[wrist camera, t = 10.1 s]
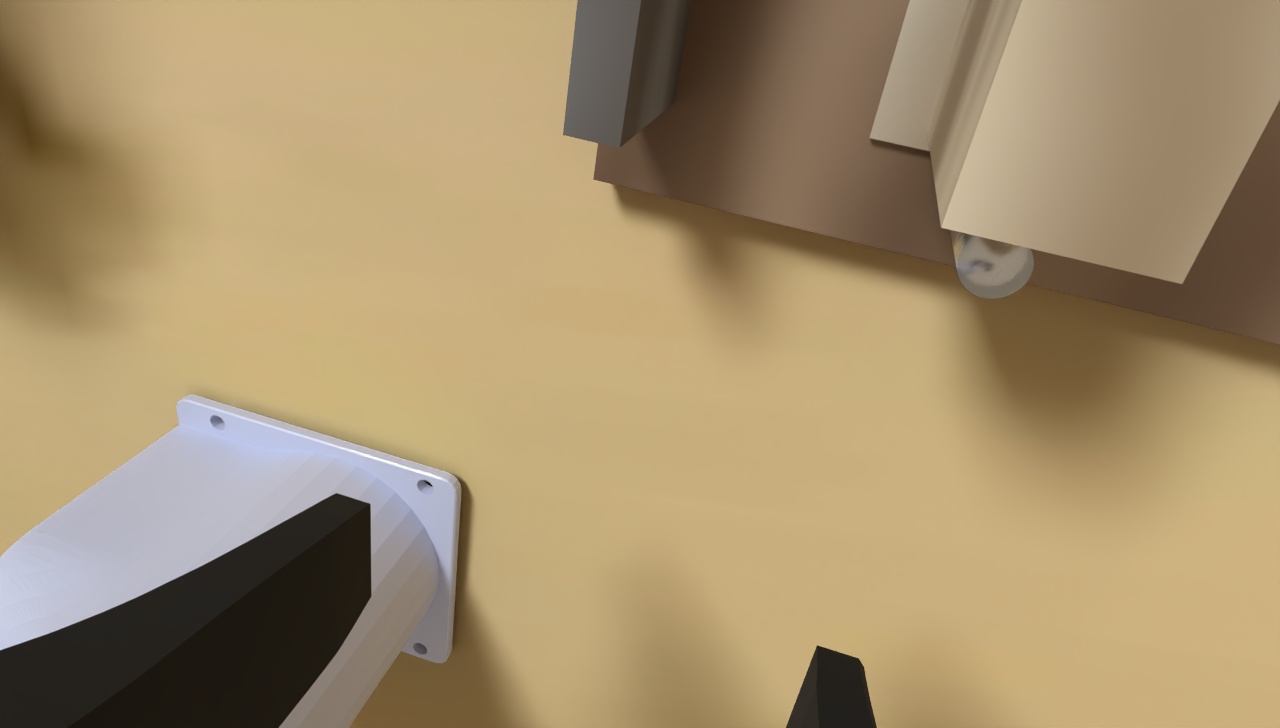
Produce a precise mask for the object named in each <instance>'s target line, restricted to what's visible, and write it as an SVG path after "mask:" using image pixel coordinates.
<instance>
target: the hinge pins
mask: <svg viewBox="0 0 1280 728" xmlns="http://www.w3.org/2000/svg"><path fill="white" fill-rule="evenodd" d="M950 233H951V238H952V244H953V250H954V256H955V262H956V267H957V273H958V277H959V280H960V282H961V283H962V285H963V286H964V287H965V288H966V289H967V290H968V291H969V292H971V293H972V294H974V295H976V296H979V297H982V298H987V299H997V298H1003V297H1006V296H1009V295H1011V294H1013V293H1015V292H1017V291H1018V290H1020V289H1021V288H1022V287H1023V286H1024V285H1025V284H1026V283H1027V281H1028V280H1029V278H1030V276H1031V274H1032V271H1033V266H1034V259H1033V254H1032V251H1031V249H1030V248H1026V247H1022V246H1017V245H1013V244H1009V243H1005V242H1000V241H996V240H992V239H987V238H983V237H979V236H975V235H970V234H966V233H962V232H958V231H953V230H950Z"/></svg>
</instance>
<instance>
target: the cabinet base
mask: <svg viewBox="0 0 1280 728" xmlns="http://www.w3.org/2000/svg"><path fill="white" fill-rule="evenodd" d="M968 2H969V0H578V3H577V12H576V21H575V31H574V40H573V49H572V58H571V67H570V77H569V86H568V95H567V104H566V113H565V123H564V132H563V135H566V136H570V137H575V138H579V139H583V140H588V141H592V142H596V143H598V149H597V157H596V164H595V172H594V180H598V181H602V182H606V183H610V184H615V185H619V186H623V187H627V188H631V189H635V190H639V191H644V192H648V193H652V194H656V195H660V196H664V197H669V198H673V199H677V200H681V201H685V202H689V203H693V204H698V205H702V206H706V207H710V208H714V209H718V210H722V211H727V212H731V213H735V214H739V215H743V216H747V217H752V218H756V219H760V220H764V221H768V222H772V223H776V224H781V225H785V226H789V227H793V228H797V229H801V230H805V231H810V232H814V233H818V234H822V235H826V236H830V237H835V238H839V239H843V240H847V241H851V242H855V243H859V244H864V245H868V246H872V247H876V248H880V249H884V250H889V251H893V252H897V253H901V254H905V255H909V256H913V257H918V258H922V259H926V260H930V261H934V262H938V263H942V264H947V265H951V266H955V267H956V262H955V256H954V250H953V244H952V238H951V233H950V230H949V229H945V228H941V224H940V217H939V210H938V203H937V196H936V189H935V182H934V175H933V168H932V162H931V155H930V148H929V141H928V134H927V127H928V124H929V121H930V118H931V115H932V112H933V109H934V106H935V103H936V100H937V97H938V94H939V91H940V88H941V84H942V81H943V78H944V75H945V72H946V69H947V66H948V63H949V60H950V57H951V54H952V51H953V48H954V45H955V42H956V39H957V36H958V32H959V29H960V26H961V23H962V20H963V17H964V14H965V11H966V8H967V5H968ZM1031 251H1032V254H1033V259H1034V266H1033V271H1032V274H1031V276H1030V278H1029V280H1028V281H1027V283H1026V284H1030V285H1034V286H1038V287H1042V288H1046V289H1050V290H1055V291H1059V292H1063V293H1067V294H1071V295H1075V296H1079V297H1084V298H1088V299H1092V300H1096V301H1100V302H1104V303H1109V304H1113V305H1117V306H1121V307H1125V308H1129V309H1133V310H1138V311H1142V312H1146V313H1150V314H1154V315H1158V316H1163V317H1167V318H1171V319H1175V320H1179V321H1183V322H1187V323H1192V324H1196V325H1200V326H1204V327H1208V328H1212V329H1216V330H1221V331H1225V332H1229V333H1233V334H1237V335H1241V336H1246V337H1250V338H1254V339H1258V340H1262V341H1266V342H1270V343H1275V344H1279V345H1280V101H1279V102H1278V104H1277V106H1276V108H1275V110H1274V112H1273V114H1272V116H1271V117H1270V119H1269V121H1268V123H1267V125H1266V127H1265V129H1264V131H1263V133H1262V134H1261V136H1260V138H1259V140H1258V142H1257V144H1256V146H1255V148H1254V150H1253V151H1252V153H1251V155H1250V157H1249V159H1248V161H1247V163H1246V165H1245V167H1244V168H1243V170H1242V172H1241V174H1240V176H1239V178H1238V180H1237V182H1236V184H1235V185H1234V187H1233V189H1232V191H1231V193H1230V195H1229V197H1228V199H1227V201H1226V202H1225V204H1224V206H1223V208H1222V210H1221V212H1220V214H1219V216H1218V217H1217V219H1216V221H1215V223H1214V225H1213V227H1212V229H1211V231H1210V233H1209V234H1208V236H1207V238H1206V240H1205V242H1204V244H1203V246H1202V248H1201V250H1200V251H1199V253H1198V255H1197V257H1196V259H1195V261H1194V263H1193V265H1192V267H1191V268H1190V270H1189V272H1188V274H1187V276H1186V278H1185V280H1184V282H1183V284H1180V283H1175V282H1171V281H1167V280H1162V279H1158V278H1154V277H1150V276H1145V275H1141V274H1137V273H1133V272H1128V271H1124V270H1120V269H1116V268H1111V267H1107V266H1103V265H1098V264H1094V263H1090V262H1086V261H1081V260H1077V259H1073V258H1069V257H1064V256H1060V255H1056V254H1051V253H1047V252H1043V251H1039V250H1034V249H1031Z"/></svg>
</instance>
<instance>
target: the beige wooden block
mask: <svg viewBox="0 0 1280 728" xmlns="http://www.w3.org/2000/svg"><path fill="white" fill-rule="evenodd" d="M1279 101H1280V0H969V2H968V5H967V8H966V11H965V14H964V17H963V20H962V23H961V26H960V29H959V32H958V36H957V39H956V42H955V45H954V48H953V51H952V54H951V57H950V60H949V63H948V66H947V69H946V72H945V75H944V78H943V81H942V84H941V88H940V91H939V94H938V97H937V100H936V103H935V106H934V109H933V112H932V115H931V118H930V121H929V124H928V127H927V134H928V141H929V148H930V155H931V162H932V168H933V175H934V182H935V189H936V196H937V203H938V210H939V217H940V224H941V228H945V229H949V230H953V231H958V232H962V233H966V234H970V235H975V236H979V237H983V238H987V239H992V240H996V241H1000V242H1005V243H1009V244H1013V245H1017V246H1022V247H1026V248H1030V249H1034V250H1039V251H1043V252H1047V253H1051V254H1056V255H1060V256H1064V257H1069V258H1073V259H1077V260H1081V261H1086V262H1090V263H1094V264H1098V265H1103V266H1107V267H1111V268H1116V269H1120V270H1124V271H1128V272H1133V273H1137V274H1141V275H1145V276H1150V277H1154V278H1158V279H1162V280H1167V281H1171V282H1175V283H1180V284H1183V282H1184V280H1185V278H1186V276H1187V274H1188V272H1189V270H1190V268H1191V267H1192V265H1193V263H1194V261H1195V259H1196V257H1197V255H1198V253H1199V251H1200V250H1201V248H1202V246H1203V244H1204V242H1205V240H1206V238H1207V236H1208V234H1209V233H1210V231H1211V229H1212V227H1213V225H1214V223H1215V221H1216V219H1217V217H1218V216H1219V214H1220V212H1221V210H1222V208H1223V206H1224V204H1225V202H1226V201H1227V199H1228V197H1229V195H1230V193H1231V191H1232V189H1233V187H1234V185H1235V184H1236V182H1237V180H1238V178H1239V176H1240V174H1241V172H1242V170H1243V168H1244V167H1245V165H1246V163H1247V161H1248V159H1249V157H1250V155H1251V153H1252V151H1253V150H1254V148H1255V146H1256V144H1257V142H1258V140H1259V138H1260V136H1261V134H1262V133H1263V131H1264V129H1265V127H1266V125H1267V123H1268V121H1269V119H1270V117H1271V116H1272V114H1273V112H1274V110H1275V108H1276V106H1277V104H1278V102H1279Z"/></svg>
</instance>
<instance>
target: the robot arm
mask: <svg viewBox="0 0 1280 728" xmlns="http://www.w3.org/2000/svg"><path fill="white" fill-rule="evenodd" d="M177 416H178V422H179V425H178V426H177V427H175V428H174V429H172V430H171V431H170V432H168V433H167V434H165V435H164V436H163V437H161V438H160V439H158V440H157V441H155V442H154V443H153V444H151V445H150V446H148V447H147V448H146V449H144V450H143V451H141V452H140V453H138V454H137V455H136V456H134V457H133V458H131V459H130V460H129V461H127V462H126V463H124V464H123V465H121V466H120V467H119V468H117V469H116V470H114V471H113V472H112V473H110V474H109V475H107V476H106V477H104V478H103V479H102V480H100V481H99V482H97V483H96V484H95V485H93V486H92V487H90V488H89V489H87V490H86V491H85V492H83V493H82V494H80V495H79V496H78V497H76V498H75V499H73V500H72V501H70V502H69V503H68V504H66V505H65V506H63V507H62V508H61V509H59V510H58V511H56V512H55V513H53V514H52V515H51V516H49V517H48V518H46V519H45V520H44V521H42V522H41V523H39V524H38V525H36V526H35V527H34V528H32V529H31V530H29V531H28V532H27V533H26V534H25V535H23V536H22V537H21V538H20V539H18V540H17V541H16V542H15V543H14V544H13V545H12V546H11V547H10V548H9V549H8V550H7V551H6V552H5V553H4V554H3V555H2V556H1V557H0V728H349V727H350V726H351V724H352V723H353V721H354V720H355V718H356V717H357V715H358V714H359V712H360V711H361V709H362V708H363V706H364V705H365V703H366V702H367V701H368V699H369V698H370V696H371V695H372V693H373V692H374V690H375V689H376V687H377V686H378V684H379V683H380V681H381V680H382V678H383V677H384V675H385V674H386V672H387V671H388V669H389V668H390V667H391V665H392V664H393V662H394V661H395V659H396V658H397V656H398V655H399V653H400V652H404V653H407V654H410V655H413V656H416V657H419V658H422V659H425V660H428V661H430V662H433V663H444V662H445V661H447V659H448V657H449V656H450V654H451V651H452V641H453V624H454V607H455V591H456V574H457V558H458V541H459V524H460V508H461V491H462V489H461V484H460V482H459V481H458V479H457V478H456V477H455V476H454V475H452V474H450V473H448V472H446V471H442V470H439V469H436V468H432V467H429V466H426V465H423V464H419V463H416V462H413V461H410V460H406V459H403V458H400V457H397V456H393V455H390V454H387V453H383V452H380V451H377V450H374V449H370V448H367V447H364V446H361V445H357V444H354V443H351V442H347V441H344V440H341V439H338V438H334V437H331V436H328V435H325V434H321V433H318V432H315V431H312V430H308V429H305V428H302V427H298V426H295V425H292V424H289V423H285V422H282V421H279V420H276V419H272V418H269V417H266V416H263V415H259V414H256V413H253V412H249V411H246V410H243V409H240V408H236V407H233V406H230V405H227V404H223V403H220V402H217V401H214V400H210V399H207V398H204V397H200V396H197V395H191V394H190V395H187V396H185V397H184V398H182V399H181V400H179V402H178V403H177ZM424 480H426V481H428V482H430V483H431V485H432V486H433V487H432V486H430V485H428V484H427V483H426V482H425V481H424ZM786 728H877V727H876V723H875V719H874V714H873V710H872V706H871V701H870V697H869V692H868V687H867V682H866V677H865V671H864V666H863V665H862V663H861V661H860V660H859V659H858V658H855V657H852V656H849V655H846V654H842V653H839V652H836V651H833V650H830V649H827V648H824V647H820V646H817V647H816V650H815V652H814V655H813V658H812V660H811V663H810V666H809V668H808V671H807V674H806V676H805V679H804V681H803V684H802V687H801V689H800V692H799V695H798V697H797V700H796V703H795V705H794V708H793V711H792V713H791V716H790V718H789V721H788V724H787V726H786Z"/></svg>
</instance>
